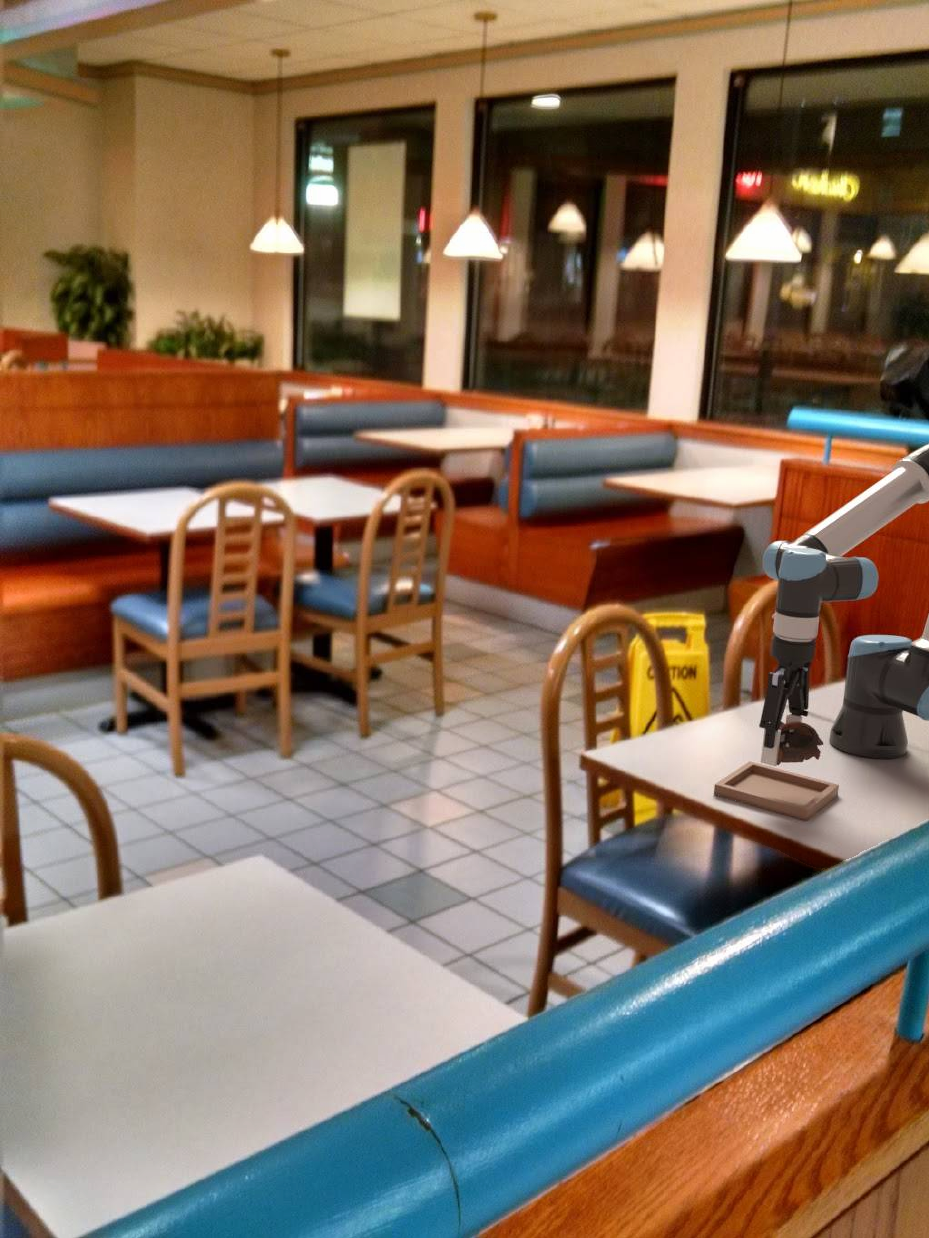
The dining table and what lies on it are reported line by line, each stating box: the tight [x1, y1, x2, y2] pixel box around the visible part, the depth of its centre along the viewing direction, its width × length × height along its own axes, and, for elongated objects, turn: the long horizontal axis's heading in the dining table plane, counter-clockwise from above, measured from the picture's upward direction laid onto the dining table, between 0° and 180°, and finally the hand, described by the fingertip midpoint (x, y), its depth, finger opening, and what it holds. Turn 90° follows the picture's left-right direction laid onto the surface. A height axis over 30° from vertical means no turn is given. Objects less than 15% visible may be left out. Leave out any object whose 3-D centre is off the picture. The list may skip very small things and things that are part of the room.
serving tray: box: [713, 760, 840, 822], centre depth 220 cm, size 15×17×2 cm
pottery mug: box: [776, 721, 824, 766], centre depth 217 cm, size 12×10×8 cm
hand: (779, 756), depth 218 cm, fingers closed on pottery mug, 9 cm apart
